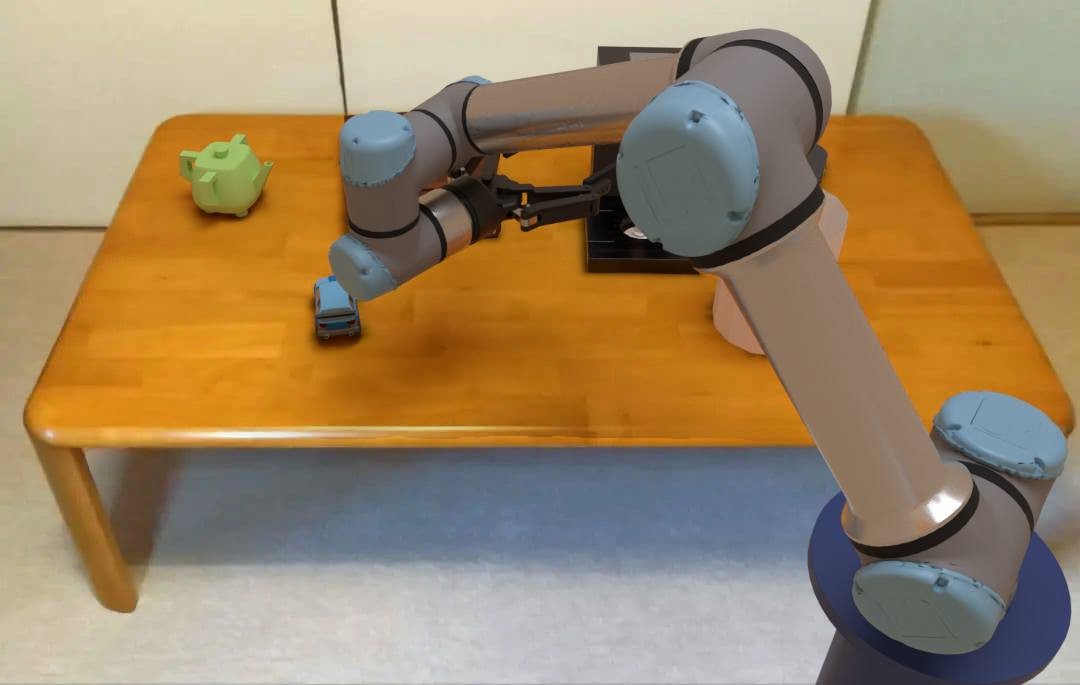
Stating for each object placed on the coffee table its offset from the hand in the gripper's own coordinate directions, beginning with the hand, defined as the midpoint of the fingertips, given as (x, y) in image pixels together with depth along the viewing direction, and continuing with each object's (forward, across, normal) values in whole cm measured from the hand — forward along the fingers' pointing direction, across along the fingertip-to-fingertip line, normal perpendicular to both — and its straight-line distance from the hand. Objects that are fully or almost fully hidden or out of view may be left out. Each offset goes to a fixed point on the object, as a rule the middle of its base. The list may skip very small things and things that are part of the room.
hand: (579, 149), depth 128 cm
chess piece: (+16, -1, -23) cm, 27 cm away
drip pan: (+16, -1, -22) cm, 27 cm away
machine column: (+22, -7, -22) cm, 32 cm away
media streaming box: (+47, +2, -23) cm, 52 cm away
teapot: (-22, -51, -22) cm, 60 cm away
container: (+14, +23, -23) cm, 35 cm away
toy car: (-27, -18, -22) cm, 40 cm away
